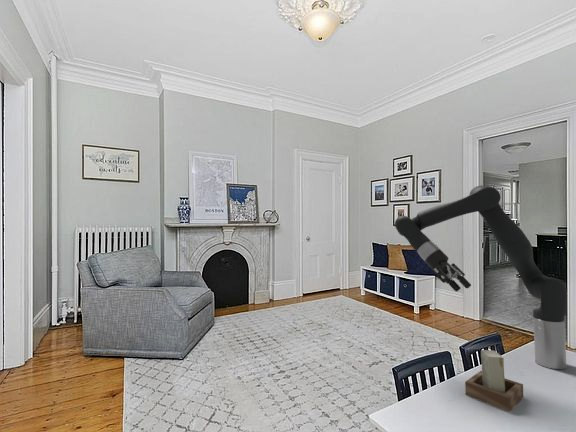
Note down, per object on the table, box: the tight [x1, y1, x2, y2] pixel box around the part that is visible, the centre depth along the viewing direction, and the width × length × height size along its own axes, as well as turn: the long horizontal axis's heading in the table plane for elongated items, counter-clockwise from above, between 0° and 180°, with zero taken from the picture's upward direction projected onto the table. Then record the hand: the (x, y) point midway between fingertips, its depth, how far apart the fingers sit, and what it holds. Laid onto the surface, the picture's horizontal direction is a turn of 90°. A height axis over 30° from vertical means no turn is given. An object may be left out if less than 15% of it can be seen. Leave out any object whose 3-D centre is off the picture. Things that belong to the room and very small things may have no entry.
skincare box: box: [480, 349, 506, 393], centre depth 99 cm, size 6×4×12 cm
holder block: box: [464, 370, 525, 412], centre depth 98 cm, size 12×12×4 cm
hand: (464, 288), depth 114 cm, fingers open, 8 cm apart
